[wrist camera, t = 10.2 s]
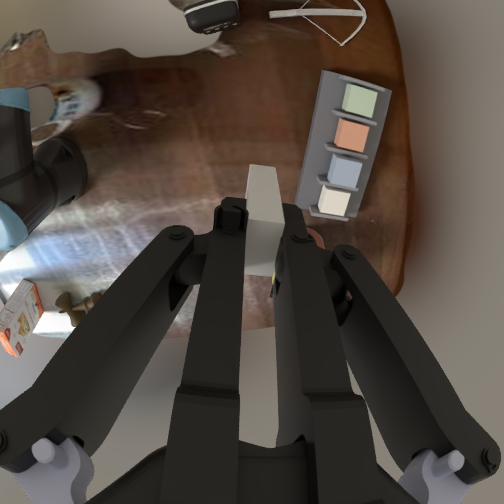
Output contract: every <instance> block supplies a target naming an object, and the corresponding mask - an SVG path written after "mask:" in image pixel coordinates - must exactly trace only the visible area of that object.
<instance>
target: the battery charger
mask: <svg viewBox="0 0 504 504" xmlns="http://www.w3.org/2000/svg"><path fill="white" fill-rule="evenodd" d="M184 16H185V18H186V20H187V23H188V26H189V28H190V29H191V30H193V31H194V32H196V33H200V34H201V33H204V34H206V35H207V34H212V33H216V32H219V31H223V30H226V29H230V28H234V27H237V26H238V25H239V24H240V22H241V16H240V12H239V9H238V4H237V1H236V0H204V1H201V2H198V3H195V4H192V5H190V6H188V7H186V8H185V9H184Z"/></svg>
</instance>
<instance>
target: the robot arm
mask: <svg viewBox="0 0 504 504" xmlns="http://www.w3.org/2000/svg"><path fill="white" fill-rule="evenodd" d="M30 114H31V110H30V107H29V94H28V92H27V90H26V89H24V88H7V89H1V90H0V250H2V251H11V250H13V249H15V248H16V247H17V246H18V245H19V244H20V243H22V242H23V241H24V240H26V239H27V237H28V235H29V234H30V233H31V232H32V231H33V230H34V229H35V228H36V227H37V226H38V225H39V224H40V223H41V222H42V221H43V220H44V219H45V218H46V217H47V216H48V215H49V214H50V213H51V212H52V211H53V210H56V209H59V208H62V207H65V206H68V205H70V204H72V203H73V202H74V201H75V200H76V199H78V198H79V197H80V196H81V194H82V193H83V191H84V189H85V187H86V183H87V168H86V163H85V160H84V158H83V156H82V154H81V152H80V151H79V149H78V148H77V147H76V146H75V145H74V144H73V143H72V142H71V141H69V140H67V139H65V138H61V137H54V138H50V139H48V140H46V141H44V142H43V143H41V144H40V145H39V146H38V147H37V148H36V149H35V151H34V152H33V148H32V138H31V126H30ZM274 269H275V278H274V282H273V286H272V290H271V294H270V297H273V296H274V315H275V337H276V359H277V385H278V415H279V430H278V435H277V439H276V447H275V448H265V447H261V446H257V445H254V444H250V443H247V442H243V441H240V440H239V414H240V395H239V366H240V346H241V325H242V305H243V285H244V274H251V275H260V276H270V277H273V273H274ZM196 284H200V288H199V293H198V298H197V302H196V307H195V312H194V317H193V322H192V327H191V332H190V337H189V342H188V348H187V353H186V358H185V364H184V369H183V375H182V380H181V384H180V386H179V387H178V388H177V391H176V394H175V399H174V405H173V410H172V416H171V422H170V429H169V435H168V442H167V445H166V446H163V447H161V448H159V449H157V450H155V451H154V452H152V453H150V454H149V455H148V456H146V457H145V458H144V459H143V460H141V461H140V462H139V463H138V464H136V465H135V466H134V467H133V468H131V469H130V470H129V471H128V472H126V473H125V474H124V475H123V476H121V477H120V478H119V479H117V480H116V481H115V482H113V483H112V484H111V485H109V486H108V487H107V488H105V489H104V490H102V491H101V492H100V493H99V494H97V495H96V496H94V497H93V498H91V499H90V500H89V501H86V489H87V486H88V485H89V483H90V482H91V480H92V479H93V476H94V465H93V463H92V460H91V458H90V457H91V456H92V455H93V454H94V453H95V451H96V450H97V449H98V448H99V447H100V445H101V444H102V443H103V441H104V440H105V438H106V437H107V435H108V433H109V432H110V430H111V428H112V426H113V424H114V423H115V421H116V419H117V417H118V415H119V413H120V412H121V410H122V408H123V406H124V405H125V403H126V401H127V399H128V398H129V396H130V394H131V392H132V390H133V389H134V387H135V385H136V383H137V382H138V380H139V378H140V376H141V375H142V373H143V371H144V369H145V368H146V366H147V364H148V363H149V361H150V359H151V358H152V356H153V354H154V352H155V351H156V349H157V347H158V346H159V344H160V342H161V340H162V339H163V337H164V335H165V334H166V332H167V330H168V329H169V327H170V325H171V324H172V322H173V320H174V319H175V317H176V315H177V314H178V312H179V311H180V309H181V307H182V306H183V304H184V302H185V301H186V299H187V297H188V296H189V294H190V293H191V291H192V289H193V286H194V285H196ZM349 292H350V294H351V296H352V300H351V299H350V298H349V296H348V294H349ZM346 360H347V362H348V364H349V366H350V368H351V370H352V373H353V375H354V377H355V379H356V381H357V383H358V385H359V387H360V389H361V392H362V394H363V396H364V398H365V400H366V402H367V405H368V407H369V409H370V411H371V413H372V415H373V418H374V420H375V422H376V424H377V427H378V429H379V431H380V433H381V435H382V438H383V440H384V442H385V444H386V447H387V448H388V450H389V453H390V455H391V456H392V457H393V459H394V461H395V462H396V464H397V465H398V467H399V468H400V469H401V470H402V471H403V472H404V474H403V476H401V477H400V479H399V481H398V483H397V482H396V481H395V480H394V479H393V478H392V477H391V476H390V475H389V474H388V473H387V472H386V471H385V470H384V469H383V468H382V467H381V466H380V465H379V464H377V461H376V454H375V449H374V442H373V436H372V430H371V425H370V420H369V414H368V409H367V405H366V402H365V400H364V398H363V397H362V396H361V395H357V394H355V393H354V392H353V390H352V387H351V382H350V377H349V372H348V367H347V362H346ZM500 462H501V452H500V448H499V446H498V445H497V443H496V442H495V441H494V440H493V439H492V438H491V436H490V435H489V434H488V433H487V432H486V431H485V430H484V429H483V428H482V427H481V426H480V425H479V424H478V423H477V422H476V420H475V419H474V418H473V417H472V416H471V415H470V414H469V413H468V412H467V411H466V410H465V408H464V407H463V405H462V403H461V401H460V399H459V397H458V396H457V394H456V392H455V390H454V388H453V387H452V385H451V383H450V381H449V380H448V378H447V376H446V375H445V373H444V371H443V370H442V368H441V366H440V365H439V363H438V361H437V360H436V358H435V357H434V355H433V353H432V352H431V350H430V349H429V347H428V346H427V344H426V342H425V341H424V339H423V338H422V336H421V335H420V333H419V332H418V330H417V329H416V327H415V326H414V324H413V323H412V321H411V320H410V318H409V317H408V315H407V314H406V313H405V311H404V310H403V308H402V307H401V305H400V304H399V303H398V301H397V300H396V298H395V297H394V296H393V294H392V293H391V291H390V290H389V289H388V287H387V286H386V285H385V283H384V282H383V280H382V279H381V278H380V276H379V275H378V274H377V272H376V271H375V270H374V268H373V267H372V266H371V265H370V263H369V262H368V261H367V259H366V258H365V257H364V256H363V254H362V253H361V252H360V251H359V250H357V249H356V248H354V247H352V246H350V245H343V244H342V245H337V246H336V247H335V248H334V250H333V252H332V251H329V250H326V249H323V248H321V247H319V246H317V243H316V240H315V238H314V237H313V236H312V235H311V234H309V233H308V232H307V228H306V225H305V221H304V217H303V214H302V210H301V209H300V208H299V207H298V206H297V205H293V204H286V203H281V197H280V191H279V186H278V180H277V174H276V169H275V167H268V166H260V165H253V164H250V167H249V175H248V182H247V189H246V196H245V199H242V198H234V197H226V198H225V199H223V200H222V202H221V205H219V206H217V207H216V208H215V211H214V225H213V230H212V231H211V232H209V233H206V234H201V235H194V232H193V231H192V230H191V229H190V228H188V227H186V226H181V225H173V226H170V227H166V228H165V229H163V230H162V231H161V232H160V233H159V234H158V235H157V236H156V237H155V238H154V239H153V240H152V241H151V242H150V243H149V245H148V246H147V247H146V248H145V249H144V250H143V251H142V252H141V253H140V254H139V255H138V256H137V257H136V258H135V259H134V260H133V262H132V263H131V264H130V265H129V266H128V267H127V268H126V269H125V270H124V271H123V273H122V274H121V275H120V276H119V277H118V278H117V279H116V280H115V281H114V283H113V284H112V285H111V286H110V287H109V288H108V289H107V291H106V292H105V293H104V294H103V295H102V296H101V298H100V299H99V300H98V301H97V302H96V303H95V305H94V306H93V307H92V308H91V309H90V311H89V312H88V313H87V314H86V315H85V317H84V318H83V319H82V320H81V322H80V323H79V324H78V325H77V326H76V328H75V329H74V330H73V331H72V333H71V334H70V335H69V337H68V338H67V339H66V340H65V342H64V343H63V344H62V346H61V347H60V348H59V349H58V351H57V352H56V353H55V355H54V356H53V357H52V359H51V360H50V362H49V363H48V364H47V366H46V367H45V368H44V370H43V371H42V373H41V374H40V375H39V377H38V378H37V380H36V381H35V382H34V384H33V385H32V387H30V388H29V389H28V390H26V391H25V392H24V393H22V394H21V395H20V396H18V397H17V398H16V399H14V400H13V401H12V402H10V403H9V404H8V405H6V406H5V407H4V408H3V409H1V410H0V467H2V468H4V469H6V470H8V471H10V472H11V473H12V474H13V475H14V477H15V478H16V480H17V481H18V483H19V484H20V486H21V487H22V489H23V490H24V492H25V493H26V495H27V496H28V498H29V499H30V500H31V502H32V503H33V504H460V503H461V501H462V500H463V498H464V497H465V495H466V494H467V492H468V490H469V489H470V487H471V486H472V485H473V484H475V483H477V482H479V481H482V480H484V479H486V478H488V477H490V476H492V475H493V474H495V473H496V471H497V470H498V468H499V465H500Z"/></svg>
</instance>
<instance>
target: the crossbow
mask: <svg viewBox="0 0 504 504" xmlns="http://www.w3.org/2000/svg"><path fill="white" fill-rule="evenodd" d="M308 1H309V0H308ZM308 1H307V2H308ZM354 1H355V2H356V3H357V4H358V6H359V7H360V8H361V10H362V11H360V10H345V9H301V8H302V7H303V6H304V5H305V4H306V3H307V2H306V3H305V4H304V5H303V6H302V7H301V8H300V9H294V10H282V11H270V12H269V16H270V18H279V17H290V16H303V17H304V16H307V15H343V16H363V20H362V22H361V24H360V25H359V27H358V28H357V29H356V31H355V32H354V33H353V34H352V35H351V36H350V37H349V38H348V39H346V40H345V41H344V42H342V43H341V44H340V43H339V42H338V41H337V40H336V41H337V42H338V43H339V44H340V46H343V45H344V44H345V43H346V42H347V41H348V40H350V39H351V38H352V37H353V36H354V35H355V34H356V33H357V32H358V31H359V30H360V28H361V27H362V26H363V24H364V23H365V20H366V12H365V9H364V8H363V7H362V5H361V4H360V3H359V2H358V1H357V0H354ZM305 18H306V17H305ZM306 19H307V18H306ZM307 20H309V19H307ZM309 21H310V20H309ZM310 22H311V21H310ZM312 23H313V22H312ZM313 24H314V23H313ZM315 25H316V24H315ZM316 26H317V25H316ZM317 27H318V26H317ZM319 28H320V27H319ZM320 29H321V28H320ZM321 30H322V29H321ZM323 31H324V30H323ZM324 32H325V31H324ZM325 33H326V32H325ZM327 34H328V33H327ZM328 35H329V34H328ZM329 36H330V35H329ZM332 38H333V37H332ZM333 39H334V38H333ZM334 40H335V39H334Z"/></svg>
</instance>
